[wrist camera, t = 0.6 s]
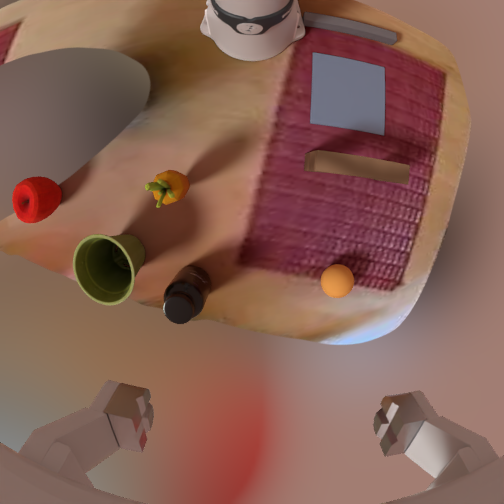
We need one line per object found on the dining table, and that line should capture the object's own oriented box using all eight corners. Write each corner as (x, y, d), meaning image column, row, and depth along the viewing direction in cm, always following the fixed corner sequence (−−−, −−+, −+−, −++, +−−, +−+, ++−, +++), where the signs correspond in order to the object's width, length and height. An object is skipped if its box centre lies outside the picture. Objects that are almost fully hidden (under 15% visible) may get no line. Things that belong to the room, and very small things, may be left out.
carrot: (203, 185, 49) (183, 191, 35) (182, 203, 50) (155, 217, 36) (185, 163, 48) (158, 162, 34) (164, 182, 49) (131, 188, 35)
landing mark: (312, 52, 42) (313, 52, 42) (384, 67, 43) (384, 67, 42) (310, 123, 46) (310, 123, 46) (383, 135, 46) (384, 135, 46)
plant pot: (147, 214, 51) (122, 227, 40) (163, 275, 54) (144, 300, 43) (95, 228, 52) (64, 242, 41) (112, 284, 55) (86, 308, 44)
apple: (36, 207, 50) (4, 216, 40) (45, 169, 48) (11, 172, 38) (64, 222, 51) (32, 233, 41) (74, 181, 49) (41, 186, 38)
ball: (320, 259, 53) (327, 269, 47) (350, 260, 53) (361, 271, 47) (315, 289, 55) (322, 303, 49) (345, 290, 55) (354, 303, 49)
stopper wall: (302, 17, 40) (304, 11, 38) (391, 37, 41) (396, 32, 38) (302, 25, 41) (304, 19, 38) (391, 45, 41) (396, 40, 39)
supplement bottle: (210, 264, 53) (199, 290, 42) (212, 298, 55) (202, 331, 44) (174, 264, 53) (154, 289, 42) (177, 298, 55) (160, 329, 44)
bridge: (305, 153, 48) (317, 150, 38) (384, 164, 48) (409, 165, 39) (304, 170, 49) (315, 170, 39) (382, 180, 49) (408, 184, 39)
